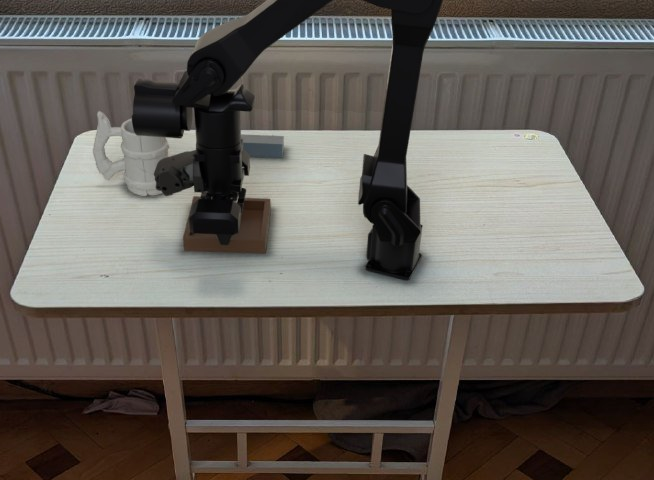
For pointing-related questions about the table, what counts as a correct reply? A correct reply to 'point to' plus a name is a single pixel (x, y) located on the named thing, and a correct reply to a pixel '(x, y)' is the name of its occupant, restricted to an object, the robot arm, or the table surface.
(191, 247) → the tray
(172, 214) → the table surface
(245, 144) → the bar
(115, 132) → the mug
